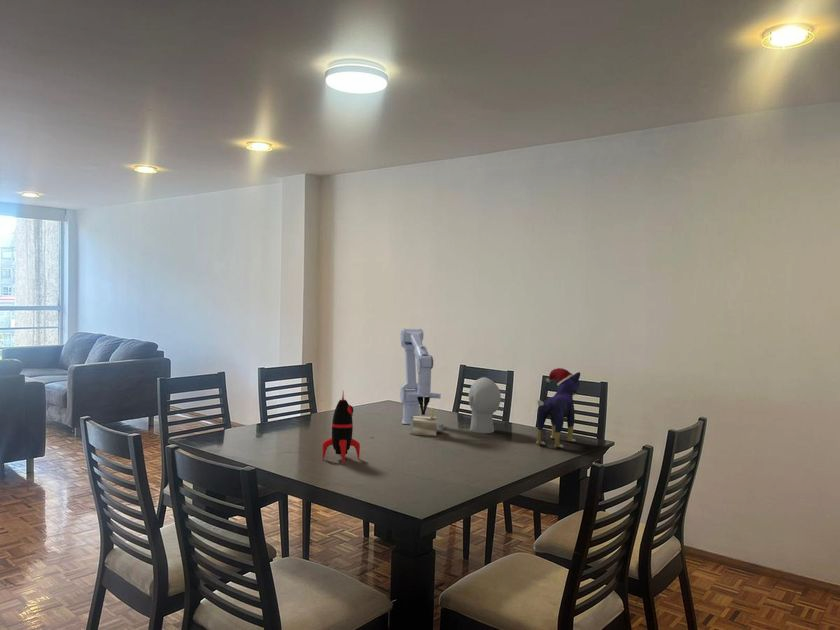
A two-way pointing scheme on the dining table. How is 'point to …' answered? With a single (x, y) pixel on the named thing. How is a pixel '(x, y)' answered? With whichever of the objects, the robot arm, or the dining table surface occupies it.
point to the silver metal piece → (439, 430)
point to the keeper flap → (431, 413)
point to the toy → (559, 405)
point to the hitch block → (424, 425)
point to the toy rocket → (342, 430)
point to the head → (483, 404)
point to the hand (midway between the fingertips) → (423, 414)
